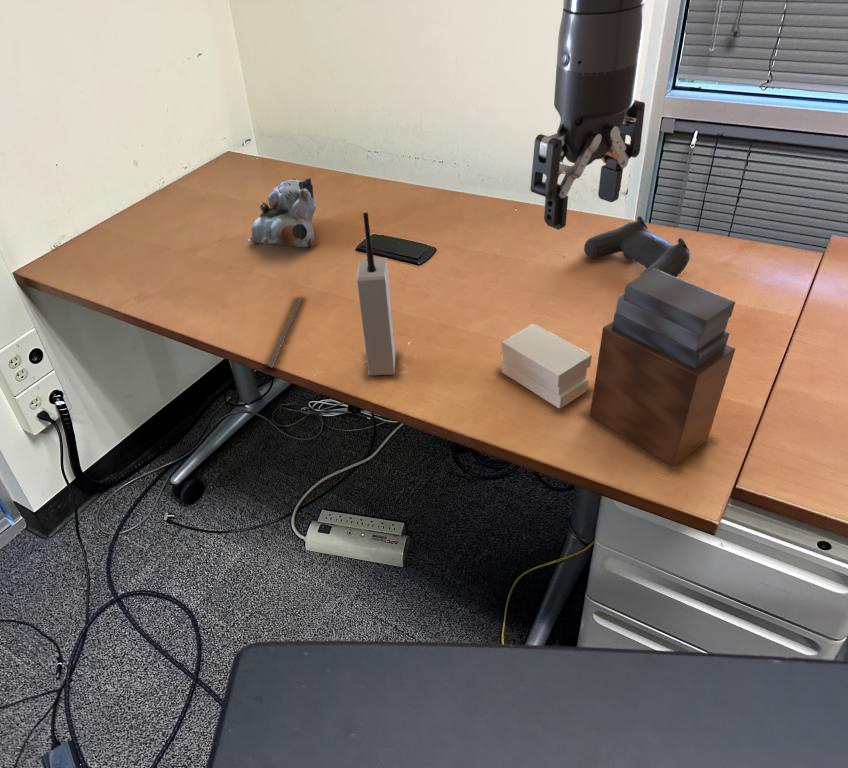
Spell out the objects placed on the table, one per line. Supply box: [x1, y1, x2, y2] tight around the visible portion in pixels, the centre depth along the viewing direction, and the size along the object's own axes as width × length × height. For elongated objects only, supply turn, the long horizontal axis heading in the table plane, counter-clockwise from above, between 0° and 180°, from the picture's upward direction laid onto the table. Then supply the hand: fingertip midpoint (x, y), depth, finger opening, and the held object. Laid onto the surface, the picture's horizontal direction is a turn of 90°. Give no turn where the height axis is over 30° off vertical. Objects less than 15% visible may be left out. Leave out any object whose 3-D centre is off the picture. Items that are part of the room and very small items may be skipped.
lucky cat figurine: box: [246, 177, 317, 248], centre depth 132 cm, size 15×12×14 cm
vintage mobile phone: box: [356, 212, 396, 376], centre depth 94 cm, size 4×5×25 cm
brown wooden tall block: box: [589, 268, 736, 467], centre depth 79 cm, size 12×7×20 cm, turn 34°
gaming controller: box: [583, 215, 691, 278], centre depth 111 cm, size 17×6×10 cm
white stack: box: [501, 354, 590, 409], centre depth 93 cm, size 10×5×4 cm, turn 34°
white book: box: [500, 323, 593, 387], centre depth 91 cm, size 10×6×2 cm, turn 34°
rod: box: [267, 298, 302, 370], centre depth 111 cm, size 1×19×1 cm, turn 168°
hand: (582, 212), depth 76 cm, fingers open, 8 cm apart
